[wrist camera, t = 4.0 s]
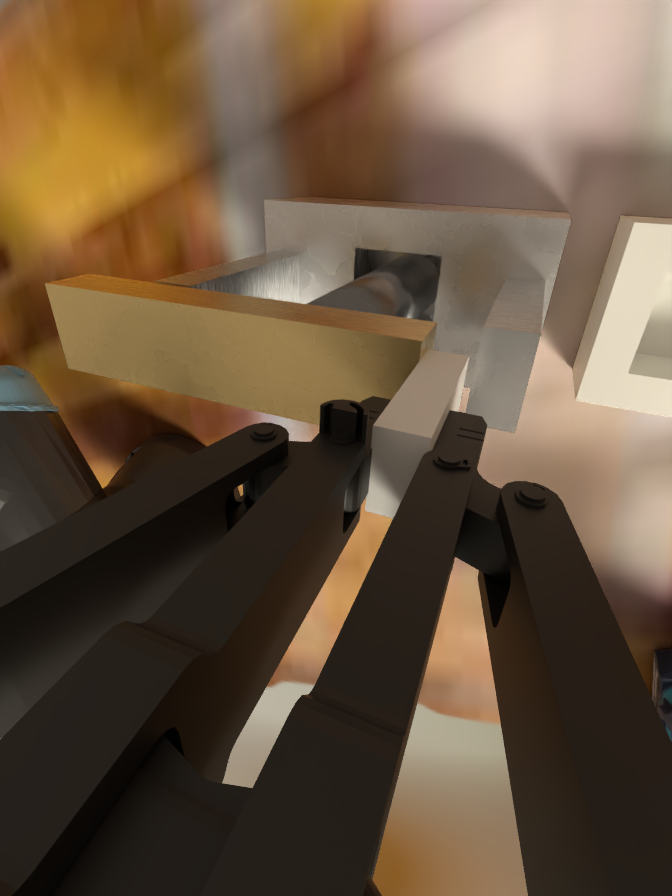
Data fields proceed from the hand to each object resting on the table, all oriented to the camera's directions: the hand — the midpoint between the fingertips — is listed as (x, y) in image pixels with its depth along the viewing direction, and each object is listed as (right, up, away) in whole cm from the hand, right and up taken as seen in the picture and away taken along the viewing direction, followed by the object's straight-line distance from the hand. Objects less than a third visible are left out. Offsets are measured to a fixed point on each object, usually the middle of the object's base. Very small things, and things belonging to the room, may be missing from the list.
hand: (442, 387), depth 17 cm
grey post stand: (+2, +10, +18) cm, 20 cm away
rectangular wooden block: (-8, +3, +4) cm, 9 cm away
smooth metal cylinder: (+2, +10, +16) cm, 19 cm away
